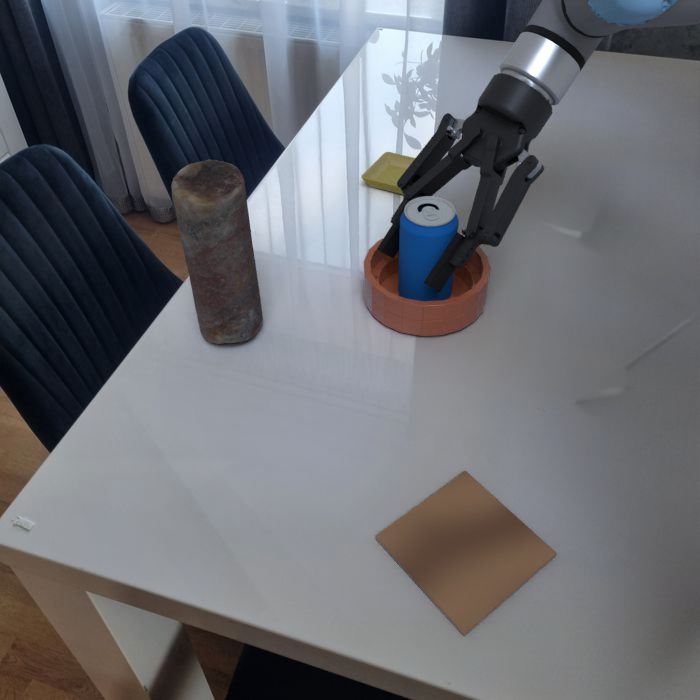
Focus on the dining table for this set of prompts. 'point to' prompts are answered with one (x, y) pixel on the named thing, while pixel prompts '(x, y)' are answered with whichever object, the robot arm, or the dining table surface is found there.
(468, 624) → the cork mat
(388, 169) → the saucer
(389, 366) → the dining table surface
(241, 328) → the stone cylinder
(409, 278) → the beverage can
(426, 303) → the bowl
